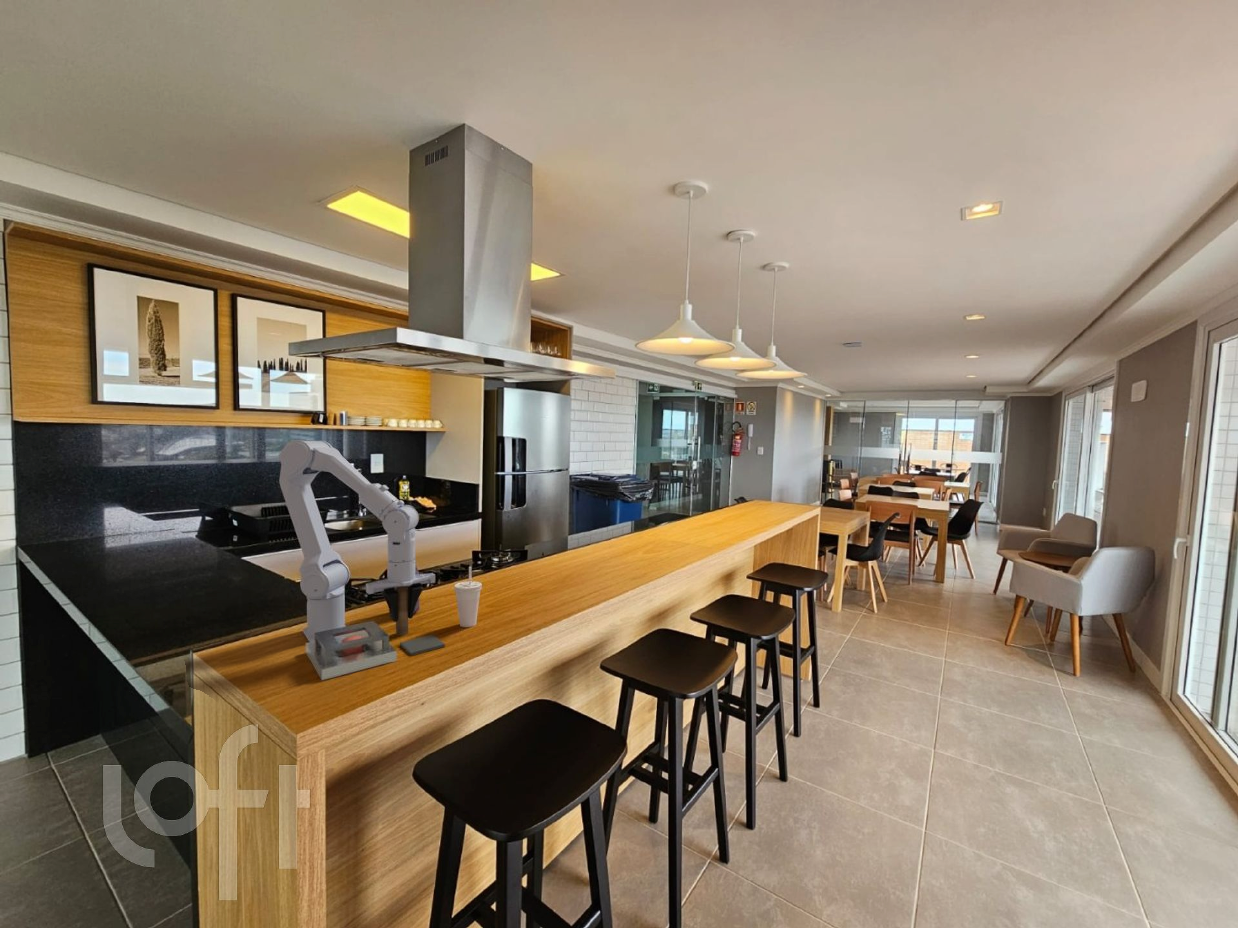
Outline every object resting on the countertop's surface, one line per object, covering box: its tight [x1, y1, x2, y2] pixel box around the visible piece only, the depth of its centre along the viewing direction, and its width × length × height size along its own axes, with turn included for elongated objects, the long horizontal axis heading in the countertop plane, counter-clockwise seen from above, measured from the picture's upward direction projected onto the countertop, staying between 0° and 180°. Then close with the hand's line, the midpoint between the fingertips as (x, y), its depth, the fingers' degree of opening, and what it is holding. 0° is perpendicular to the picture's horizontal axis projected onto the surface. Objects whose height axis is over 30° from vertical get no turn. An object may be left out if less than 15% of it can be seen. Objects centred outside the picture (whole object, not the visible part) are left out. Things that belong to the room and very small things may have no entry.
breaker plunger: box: [342, 636, 363, 656], centre depth 99 cm, size 4×4×2 cm
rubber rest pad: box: [399, 634, 446, 657], centre depth 106 cm, size 7×7×1 cm
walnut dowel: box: [395, 586, 409, 637], centre depth 113 cm, size 3×3×11 cm
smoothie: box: [453, 566, 483, 628], centre depth 119 cm, size 6×6×14 cm
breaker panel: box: [305, 620, 398, 681], centre depth 100 cm, size 16×13×5 cm
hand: (402, 618), depth 113 cm, fingers open, 3 cm apart
